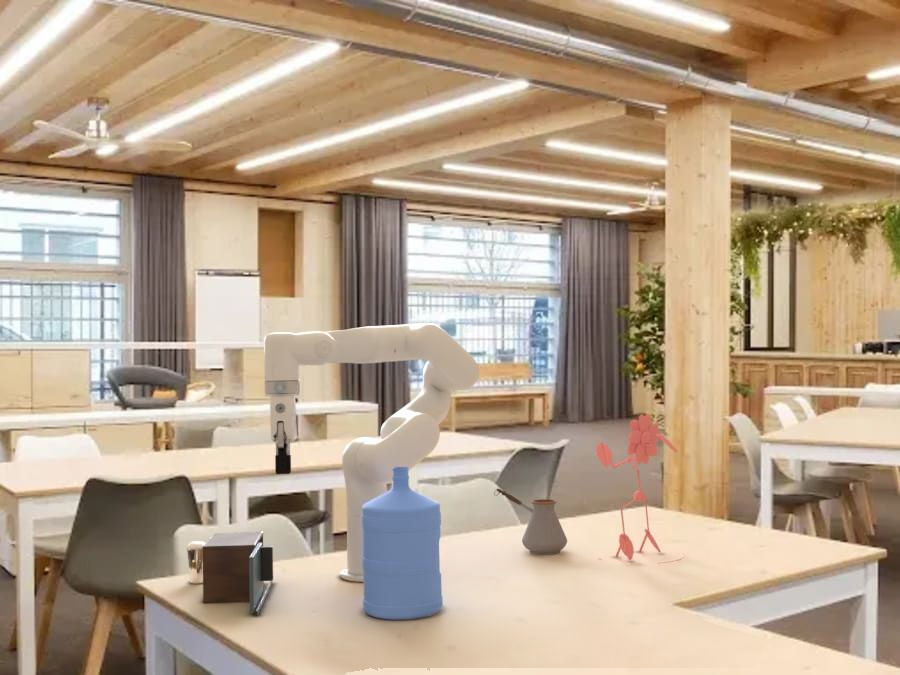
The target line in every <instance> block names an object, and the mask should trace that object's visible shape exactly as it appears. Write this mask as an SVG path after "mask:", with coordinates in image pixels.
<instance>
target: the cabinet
mask: <svg viewBox="0 0 900 675" xmlns="http://www.w3.org/2000/svg"><path fill="white" fill-rule="evenodd" d="M209 538H210V539H209ZM209 538H208V540H207V541H206V542H205V545H204V546H203V583H202V602H203V604H210V603H212V604H213V603H238V602H239V603H240V602H241V603H242V602H250V587H249V557H250V555H251V554H252V552H253V551H254V549H255V548H256V546H257V544H258V543H262V546H264V532H263V531H250V532H249V531H248V532H247V531H246V532H245V531H244V532H216V533H215V532H214V534H213V535H212V536H211V537H209ZM264 582H265V581H263V585H264V584H265V583H264ZM272 586H273V581H268V584H267V586H266V588H265V590H264V591H263V595H262V597H261V599H260V601H259V603H258V605H257V607H256V609H255V611H254V613H255V614H254V615H255V617H258V616H259V613H260V611H261V609H262V607H263V605H264V603H265V600H266V598H267V596H268V594H269V592H270V590H271V588H272Z"/></svg>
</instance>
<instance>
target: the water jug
mask: <svg viewBox="0 0 900 675" xmlns="http://www.w3.org/2000/svg"><path fill="white" fill-rule="evenodd" d="M408 469H409V468H408V467H395V468H392V470H393V481H392V487H391V489H390V490H389V489H388V490H387V492H386V493H384V494H382V495H380V496H378V497H376V498H374V499H373V500H371V501H369V502H367V503H365V504H364V505H363V507H362V527H363V557H362V566H363V582H362V583H363V598H362V609H363V611H364V612H365V613H366V614H367V615H369V616H370V617H374V618H377V619H383V620H391V621H393V620H394V621H395V620H396V621H397V620H398V621H401V620H403V621H404V620H415V619H422V618H427V617H430V616H433V615H436V614H437V613H439V612H440V611H441V610H442V608H443V602H444V601H443V595H442V573H441V569H440V565H441V564H440V540H441V536H442V534H441V525H442V515H441V514H442V513H441V505H440V502H438V501H437V500H434V499H432V498H431V497H429V496H426V495H424V494H423V493H420V492H417V490H414V489H411V487H410V486H409V478H410V476H409V471H408Z"/></svg>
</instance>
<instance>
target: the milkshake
mask: <svg viewBox="0 0 900 675" xmlns="http://www.w3.org/2000/svg"><path fill="white" fill-rule="evenodd" d="M210 538H211V537H209V538H208V540H209V539H210ZM205 543H206V542H204V541H202V540H200V541H191V542H189V543H188V544H187V546H186V551H187V560H188V570H189V583H190V584H194V585H195V584H196V585H197V584H203V546H204V545H205Z"/></svg>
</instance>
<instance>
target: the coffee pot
mask: <svg viewBox="0 0 900 675" xmlns="http://www.w3.org/2000/svg"><path fill="white" fill-rule="evenodd" d="M496 492H498V493H497V494H496ZM499 494H501V496H504V497H505V498H507V499H508V500H509V501H511V502H513V503H515V504H517V505H519V506H521V507H522V508H524V509H526V510H527V511H528V512H530V513H531V516H530V518H529V520H528V524H527V526H526V528H525V531H524V534H523V536H522V539H521V543H522V545H523V547H524V548H525V549H526V550H528V551H529V553H530V554H533V555H557V554H560V552H561V551H562V550H563V549H564V548H565V547H566V546H567V544H568V539H567V536H566V534H565V531H564V529H563V527H562V524H561V522H560V520H559V517H558V515H557V513H556V511H555V507H556V506H555V504H557V500H556V499H547V498H545V499H533V500H531V501H530V503H531V504H532V506H533V508H532V507H531V506H529V505H527V504H525V503H524V502H522V501H520V500H519V499H518V498H516V497H515V496H513V495H512V494H510V493H507V492H506V491H505V490H502V489H501V488H497V487H496V489H495V490H494V492H493V495H494V496H495V497H496V496H498V495H499Z"/></svg>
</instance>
